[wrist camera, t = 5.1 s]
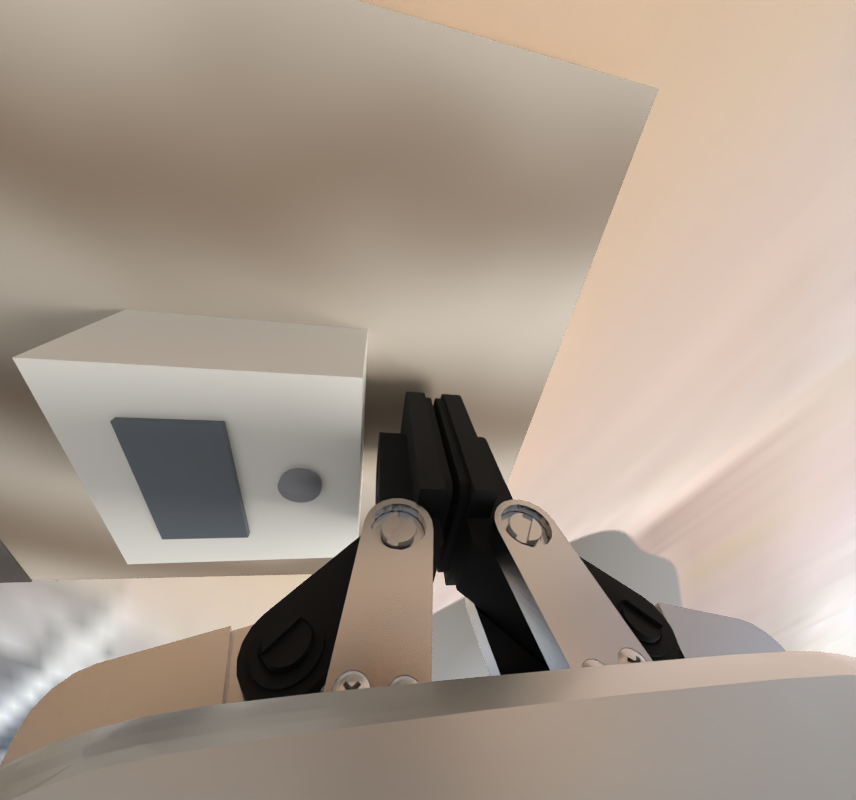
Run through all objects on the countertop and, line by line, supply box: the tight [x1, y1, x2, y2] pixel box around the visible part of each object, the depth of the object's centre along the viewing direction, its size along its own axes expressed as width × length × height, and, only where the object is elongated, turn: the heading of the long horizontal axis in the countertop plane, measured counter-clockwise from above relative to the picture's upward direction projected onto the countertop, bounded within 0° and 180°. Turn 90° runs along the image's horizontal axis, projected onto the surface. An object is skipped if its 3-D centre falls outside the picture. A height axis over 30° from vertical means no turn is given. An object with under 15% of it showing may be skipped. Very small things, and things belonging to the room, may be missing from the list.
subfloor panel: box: [0, 0, 658, 583], centre depth 10 cm, size 18×26×1 cm
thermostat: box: [12, 309, 368, 564], centre depth 9 cm, size 6×6×3 cm
